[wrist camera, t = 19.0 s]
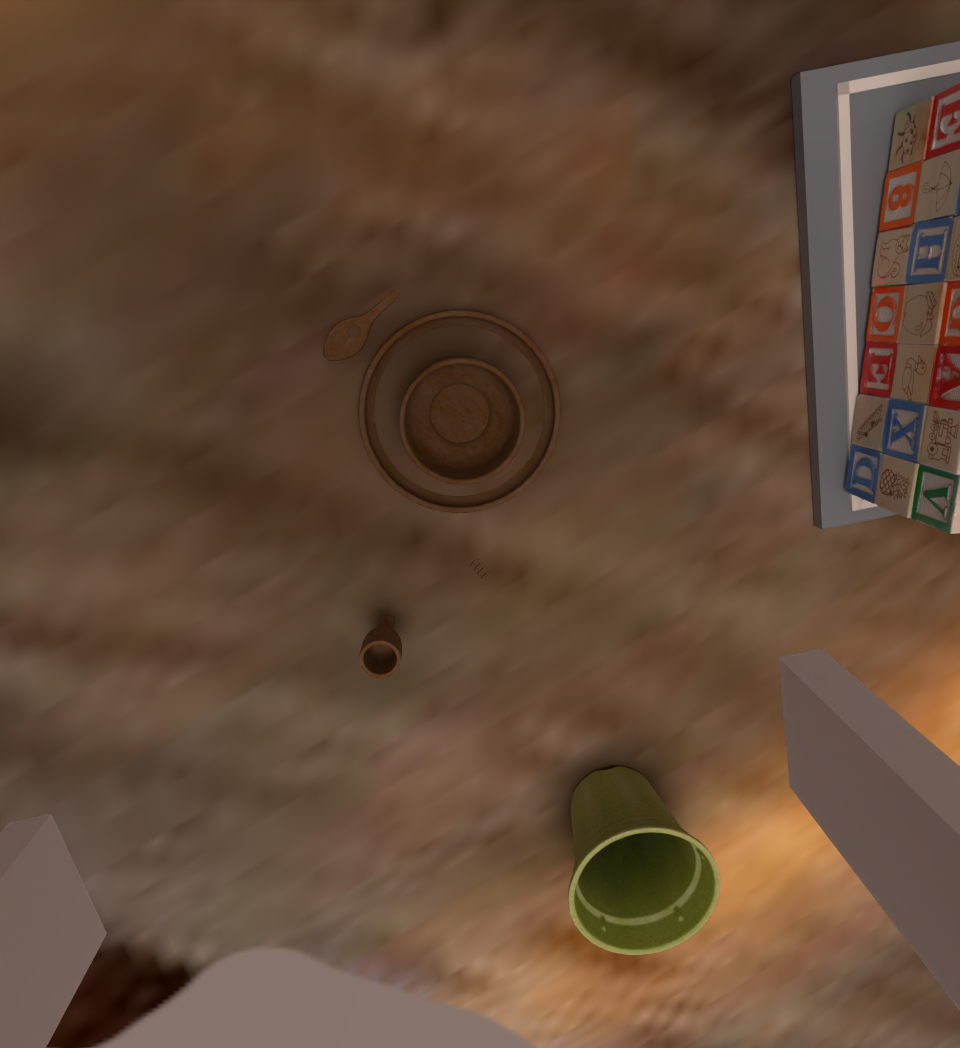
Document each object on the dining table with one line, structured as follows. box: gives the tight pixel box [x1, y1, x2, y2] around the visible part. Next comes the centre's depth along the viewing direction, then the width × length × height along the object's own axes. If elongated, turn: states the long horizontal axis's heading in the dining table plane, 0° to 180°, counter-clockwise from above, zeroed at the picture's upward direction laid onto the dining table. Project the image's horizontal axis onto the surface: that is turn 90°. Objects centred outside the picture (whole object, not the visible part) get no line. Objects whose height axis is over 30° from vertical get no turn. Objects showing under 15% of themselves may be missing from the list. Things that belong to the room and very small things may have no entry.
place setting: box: [324, 289, 561, 678], centre depth 40 cm, size 18×20×6 cm
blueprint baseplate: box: [791, 41, 960, 529], centre depth 41 cm, size 26×13×1 cm, turn 11°
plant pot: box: [568, 767, 720, 955], centre depth 46 cm, size 9×9×9 cm
